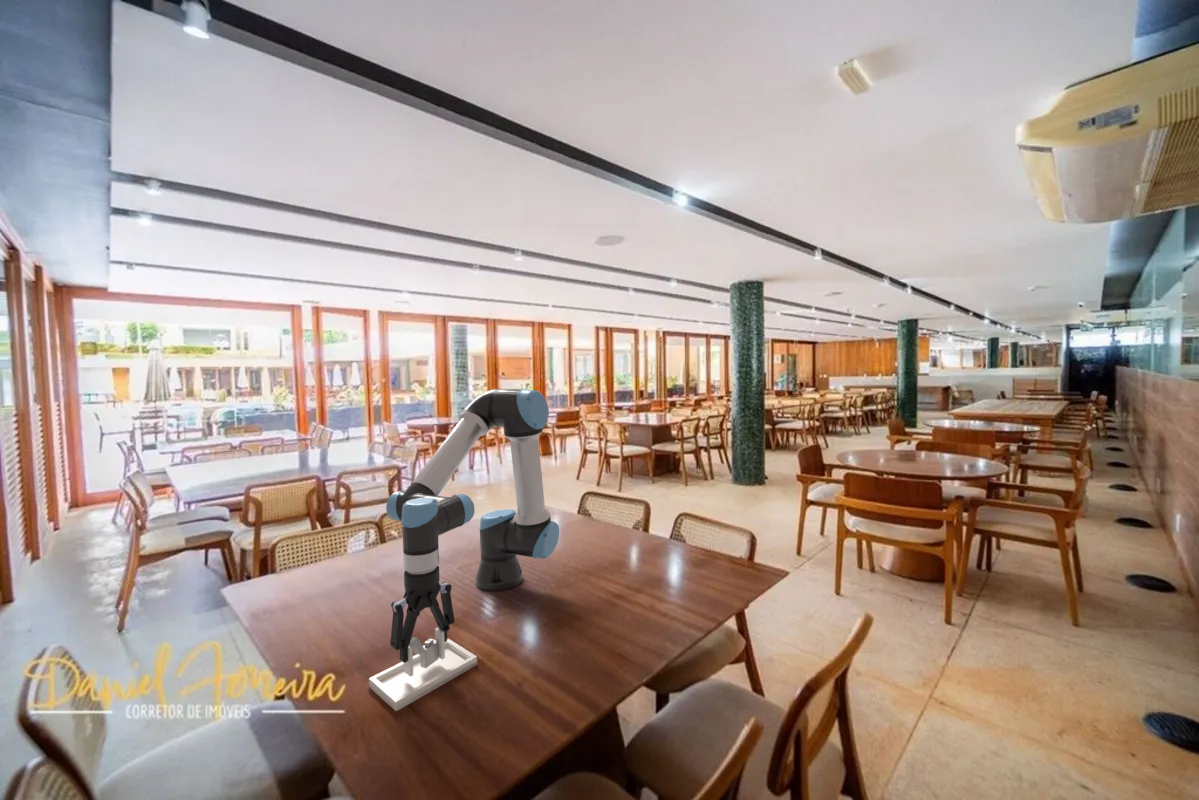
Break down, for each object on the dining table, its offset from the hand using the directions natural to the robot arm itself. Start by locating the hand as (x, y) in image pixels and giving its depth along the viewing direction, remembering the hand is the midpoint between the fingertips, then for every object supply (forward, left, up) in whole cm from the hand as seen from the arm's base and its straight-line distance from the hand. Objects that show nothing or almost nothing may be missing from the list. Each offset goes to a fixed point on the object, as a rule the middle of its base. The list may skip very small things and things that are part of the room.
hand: (425, 664), depth 109 cm
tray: (0, 0, -2) cm, 2 cm away
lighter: (0, 0, 0) cm, 0 cm away
